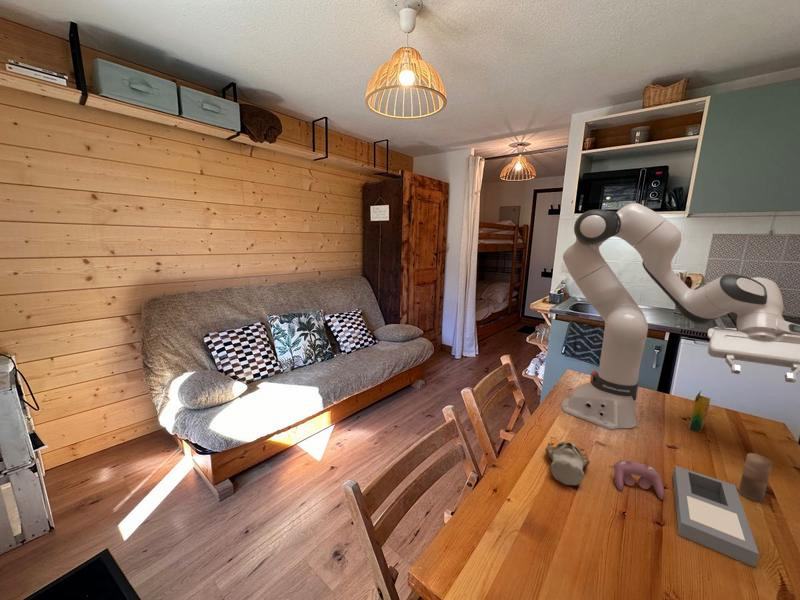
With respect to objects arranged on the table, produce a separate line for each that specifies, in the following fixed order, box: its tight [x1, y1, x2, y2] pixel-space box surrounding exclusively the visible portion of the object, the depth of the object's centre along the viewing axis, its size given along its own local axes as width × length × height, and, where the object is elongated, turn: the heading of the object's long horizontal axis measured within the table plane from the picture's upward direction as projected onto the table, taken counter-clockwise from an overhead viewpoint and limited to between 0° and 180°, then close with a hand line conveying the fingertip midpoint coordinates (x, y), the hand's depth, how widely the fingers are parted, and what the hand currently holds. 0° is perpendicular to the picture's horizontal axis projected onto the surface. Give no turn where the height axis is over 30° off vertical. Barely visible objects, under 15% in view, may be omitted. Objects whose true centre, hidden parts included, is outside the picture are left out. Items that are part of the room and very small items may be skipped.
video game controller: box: [613, 460, 665, 501], centre depth 80 cm, size 10×5×7 cm, turn 71°
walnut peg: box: [738, 452, 773, 503], centre depth 77 cm, size 4×4×10 cm
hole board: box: [672, 465, 760, 568], centre depth 72 cm, size 11×22×3 cm, turn 143°
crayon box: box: [688, 390, 711, 433], centre depth 106 cm, size 7×3×12 cm, turn 129°
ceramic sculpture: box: [545, 441, 591, 486], centre depth 85 cm, size 11×9×15 cm
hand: (762, 376), depth 82 cm, fingers open, 8 cm apart
